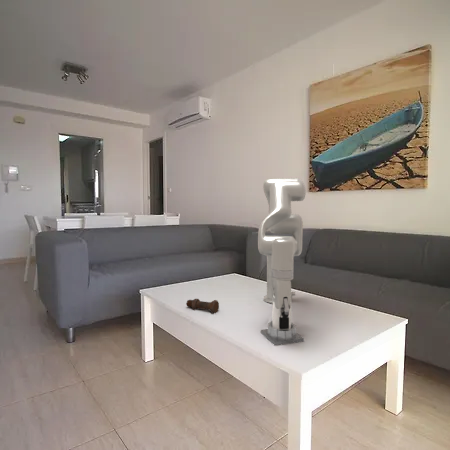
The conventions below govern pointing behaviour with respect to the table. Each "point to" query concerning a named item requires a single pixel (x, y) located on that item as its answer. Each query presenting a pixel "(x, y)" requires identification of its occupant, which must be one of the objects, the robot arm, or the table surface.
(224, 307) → the table surface
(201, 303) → the bolt
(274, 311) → the can
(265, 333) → the duct collar
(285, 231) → the robot arm
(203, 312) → the table surface
